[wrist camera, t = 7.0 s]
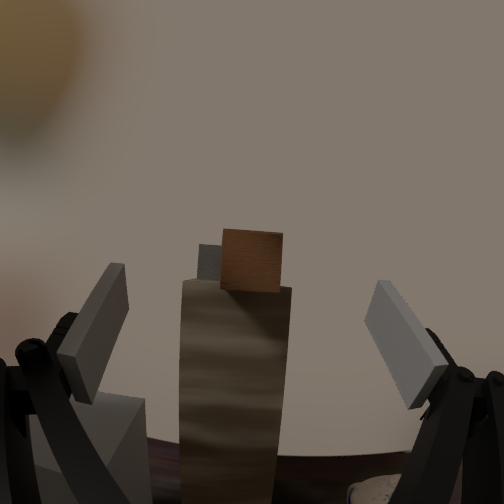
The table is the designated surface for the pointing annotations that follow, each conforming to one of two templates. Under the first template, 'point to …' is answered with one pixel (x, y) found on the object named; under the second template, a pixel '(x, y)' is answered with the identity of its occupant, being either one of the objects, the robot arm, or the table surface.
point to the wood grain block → (231, 391)
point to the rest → (100, 448)
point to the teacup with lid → (373, 490)
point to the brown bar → (243, 261)
